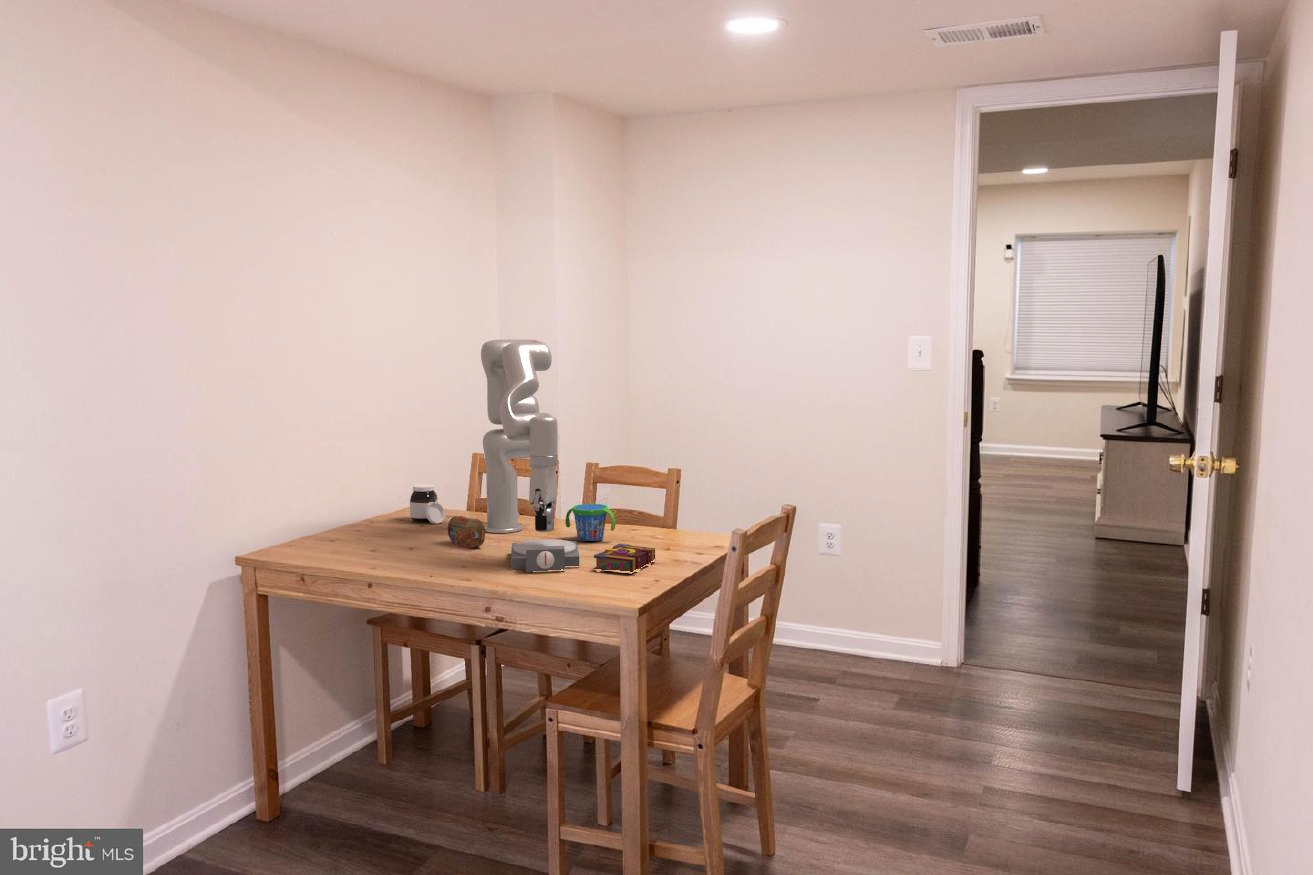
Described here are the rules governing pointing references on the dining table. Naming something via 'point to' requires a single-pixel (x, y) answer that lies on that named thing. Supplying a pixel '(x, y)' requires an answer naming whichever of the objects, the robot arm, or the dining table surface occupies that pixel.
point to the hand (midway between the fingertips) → (544, 527)
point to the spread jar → (425, 505)
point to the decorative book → (624, 558)
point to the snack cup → (590, 521)
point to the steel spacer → (549, 519)
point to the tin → (466, 531)
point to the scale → (544, 555)
